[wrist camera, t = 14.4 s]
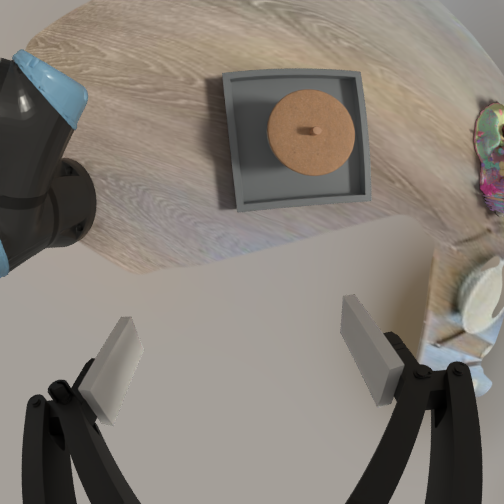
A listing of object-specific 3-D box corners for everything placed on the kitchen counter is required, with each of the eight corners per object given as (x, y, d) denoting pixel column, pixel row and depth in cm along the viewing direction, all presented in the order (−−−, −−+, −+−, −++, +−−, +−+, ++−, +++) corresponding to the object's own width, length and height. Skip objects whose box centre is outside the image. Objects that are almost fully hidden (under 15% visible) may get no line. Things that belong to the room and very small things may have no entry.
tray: (237, 209, 41) (237, 212, 38) (223, 77, 34) (222, 73, 31) (364, 198, 41) (371, 201, 38) (354, 75, 34) (360, 71, 31)
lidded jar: (262, 171, 38) (269, 176, 29) (262, 99, 35) (268, 82, 26) (334, 173, 39) (359, 179, 30) (334, 104, 35) (359, 91, 26)
